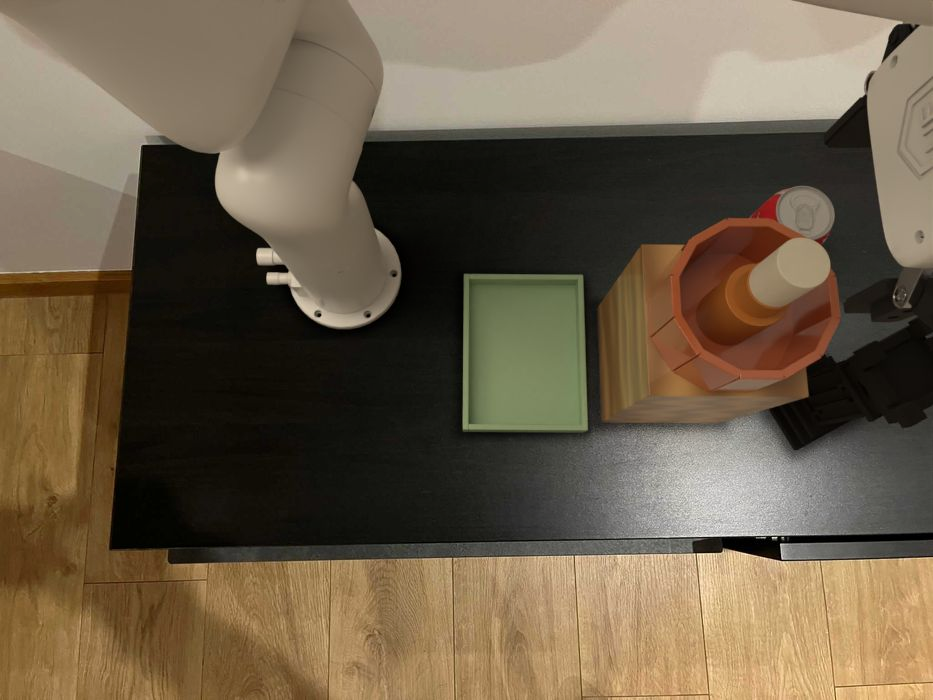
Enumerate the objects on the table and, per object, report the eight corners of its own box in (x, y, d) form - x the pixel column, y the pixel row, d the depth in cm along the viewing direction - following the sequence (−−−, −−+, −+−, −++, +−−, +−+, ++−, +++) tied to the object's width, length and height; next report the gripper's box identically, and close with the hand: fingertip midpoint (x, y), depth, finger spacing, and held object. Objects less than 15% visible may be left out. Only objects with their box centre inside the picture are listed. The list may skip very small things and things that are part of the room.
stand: (601, 422, 76) (648, 395, 56) (597, 307, 78) (641, 244, 59) (719, 423, 76) (809, 396, 56) (711, 308, 78) (794, 245, 59)
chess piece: (794, 450, 75) (910, 433, 56) (754, 385, 77) (853, 347, 57) (855, 416, 76) (991, 388, 56) (814, 353, 77) (933, 303, 58)
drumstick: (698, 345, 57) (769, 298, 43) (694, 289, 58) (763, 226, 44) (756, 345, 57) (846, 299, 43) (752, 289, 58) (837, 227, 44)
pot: (652, 392, 56) (676, 378, 50) (645, 247, 59) (666, 217, 53) (805, 393, 56) (848, 379, 50) (790, 248, 59) (830, 218, 53)
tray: (462, 431, 75) (462, 429, 73) (463, 280, 79) (463, 273, 77) (583, 432, 75) (588, 430, 73) (579, 281, 79) (583, 274, 77)
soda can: (786, 228, 81) (841, 182, 69) (786, 286, 79) (842, 249, 67) (725, 223, 81) (770, 175, 69) (724, 280, 79) (769, 242, 67)
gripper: (1002, -221, 23) (776, 81, 40) (1103, 273, 20) (807, 378, 36) (1226, -220, 23) (906, 82, 40) (1368, 273, 20) (951, 378, 36)
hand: (859, 222), depth 38 cm, fingers open, 9 cm apart
